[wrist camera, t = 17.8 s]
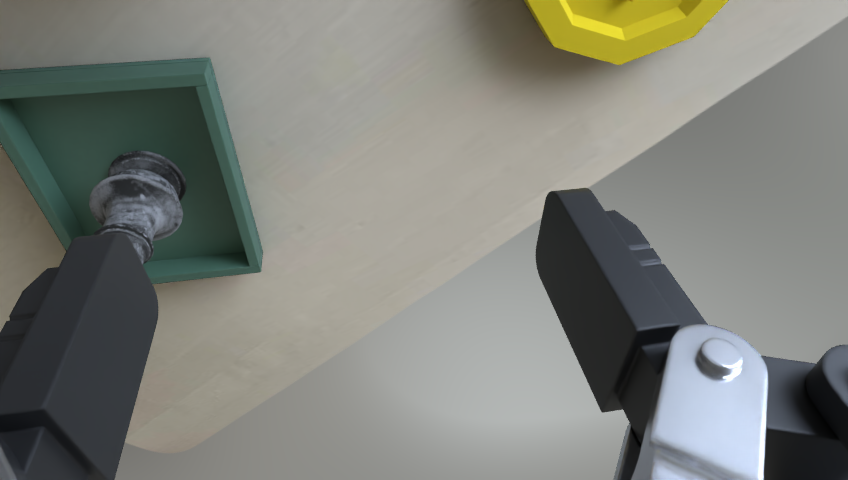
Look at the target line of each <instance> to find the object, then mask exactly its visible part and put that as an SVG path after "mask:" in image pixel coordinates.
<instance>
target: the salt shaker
mask: <svg viewBox="0 0 848 480" xmlns="http://www.w3.org/2000/svg"><path fill="white" fill-rule="evenodd" d="M185 191H186V179H185V177H184V175H183V173H182V171H181V170H180V169H179V167H178V166H177V165H176V164H175V163H173V162H172V161H171V160H169V159H168V158H166V157H164V156H162V155H160V154H157V153H153V152H149V151H131V152H126V153H124V154H122V155H120V156H118V157H117V158H116V159H115V160H114V161H113V162H112V163H111V165H110V167H109V170H108V178H106V179H104V180H102V181H100V182H99V183H98V184H97V185H96V186H95V187H94V188H93V190H92V192H91V194H90V199H89V206H90V209H91V212H92V214H93V216H94V217H95V219H96V220H97V222H98V223H100V224H101V225H102V226H103V227H101V228H99V229H98V230H97V231H95V232H94V234H93V235H101V234H111V233H124V234H126V235H127V236H128V237H129V239H130V240H131V242H132V244H133V246H134V248H135V250H136V252H137V254H138V256H139V258H140V261H141V263H142V265H143V264H144V263H146V262H147V261H149V260H150V259H151V257H152V256H153V253H154V247H153V243H152V241H156V240H161V239H163V238H166V237H168V236H170V235H171V234H173V233H174V232H175V231H176V230H177V229H178V227H179V226H180V224H181V222H182V217H183V211H182V206H181V204H180V202H179V201H181V199H182V198H183V196H184V195H185Z"/></svg>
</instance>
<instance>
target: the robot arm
mask: <svg viewBox="0 0 848 480" xmlns="http://www.w3.org/2000/svg"><path fill="white" fill-rule="evenodd" d="M536 263H537V269H538V273H539V276H540V279H541V281H542V283H543V285H544V287H545V289H546V291H547V294H548V296H549V298H550V300H551V303H552V305H553V307H554V309H555V311H556V313H557V316H558V318H559V320H560V322H561V324H562V327H563V329H564V331H565V333H566V335H567V338H568V339H569V342H570V344H571V346H572V348H573V351H574V353H575V355H576V357H577V359H578V361H579V364H580V366H581V368H582V370H583V372H584V375H585V377H586V379H587V381H588V383H589V385H590V388H591V390H592V392H593V394H594V396H595V399H596V401H597V403H598V405H599V407H600V410H601V411H602V412H609V411H615V410H621V409H623V410H624V412H625V414H626V416H627V418H628V420H629V422H630V423H629V425H628V427H627V430H626V433H625V436H624V440H623V444H622V448H621V452H620V456H619V460H618V463H617V467H616V471H615V475H614V479H613V480H848V345H839V346H835V347H833V348H831V349H829V350H828V351H827V352H826V353H825V354H824V355H823V356H822V358H821V359H820V360H819V361H818V362H817V364H814V363H807V362H800V361H793V360H786V359H780V358H773V357H766V356H761V355H760V354H759V353H758V352H757V350H756V349H755V348H754V347H753V346H752V345H751V344H749V343H748V342H747V341H746V340H744V339H743V338H741V337H740V336H738V335H736V334H735V333H733V332H731V331H728V330H726V329H723V328H720V327H717V326H712V325H708V324H707V323H706V321H705V320H704V319H703V317H702V316H701V315H700V313H699V312H698V310H697V309H696V308H695V307H694V305H693V303H692V302H691V301H690V299H689V298H688V297H687V295H686V294H685V292H684V291H683V290H682V288H681V287H680V285H679V284H678V283H677V282H676V280H675V279H674V277H673V276H672V274H671V273H670V272H669V270H668V269H667V267H666V266H665V265H664V264H661V259H660V258H659V256H658V255H657V254H656V252H655V251H654V249H653V248H650V244H649V242H648V241H647V240H646V238H645V237H644V236H643V234H642V233H641V231H640V230H639V229H638V227H637V226H636V225H635V224H633V223H632V222H631V221H629V220H628V219H626V218H625V217H624V216H622V215H621V214H619V213H618V212H616V211H615V210H612V211H604V209H603V208H602V206H601V205H600V203H599V202H598V200H597V199H596V197H595V196H594V194H593V193H592V191H591V190H589V189H588V188H580V189H570V190H560V191H551V192H549V193H548V195H547V197H546V200H545V205H544V210H543V215H542V220H541V225H540V230H539V235H538V241H537V246H536ZM9 317H10V321H6V323H5V325H4V327H3V329H2V330H1V332H0V480H114V479H115V475H116V471H117V468H118V464H119V460H120V457H121V453H122V449H123V445H124V442H125V438H126V435H127V431H128V427H129V424H130V420H131V416H132V413H133V409H134V405H135V402H136V398H137V394H138V391H139V387H140V383H141V380H142V376H143V372H144V368H145V365H146V361H147V357H148V354H149V350H150V346H151V343H152V339H153V335H154V332H155V328H156V324H157V320H158V300H157V295H156V292H155V289H154V287H153V285H152V283H151V281H150V279H149V277H148V275H147V273H146V271H145V269H144V267H143V265H142V263H141V261H140V258H139V256H138V254H137V252H136V250H135V248H134V246H133V244H132V242H131V240H130V239H129V237H128V236H127V235H126V234H124V233H111V234H101V235H91V236H81V237H76V238H74V239H73V241H72V242H71V244H70V246H69V248H68V250H67V252H66V254H65V256H64V258H63V260H62V262H61V264H60V266H59V267H56V268H47V269H46V270H45V271H44V272H43V273H42V274H41V275H40V276H39V277H38V278H36V279H35V280H34V281H33V282H32V283H31V284H30V285H29V286H28V287H27V288H26V289H25V290H24V291H23V292H22V294H21V296H20V297H19V299H18V301H17V303H16V305H15V307H14V308H13V310H12V312H11V314H10V316H9Z"/></svg>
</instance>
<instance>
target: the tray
mask: <svg viewBox="0 0 848 480" xmlns="http://www.w3.org/2000/svg"><path fill="white" fill-rule="evenodd" d="M0 143H1V145H2V146H3V148H4V150H5V151H6V153H7V155H8V156H9V158H10V159H11V161H12V163H13V164H14V166H15V168H16V169H17V171H18V173H19V174H20V176H21V178H22V179H23V181H24V182H25V184H26V186H27V187H28V189H29V191H30V192H31V194H32V196H33V197H34V199H35V200H36V202H37V204H38V205H39V207H40V209H41V210H42V212H43V214H44V215H45V217H46V219H47V220H48V222H49V223H50V225H51V227H52V228H53V230H54V232H55V233H56V235H57V237H58V238H59V240H60V241H61V243H62V245H63V246H64V248H65V250H66V251H67V250H68V248H69V246H70V244H71V242H72V241H73V239H74V238H76V237H81V236H91V235H93V234H94V232H95V231H97V230H98V229H99V228H101V227H103V226H102V225H101V224H100V223H98V222H97V220H96V219H95V217H94V216H93V214H92V212H91V209H90V206H89V199H90V194H91V192H92V190H93V188H94V187H95V186H96V185H97V184H98V183H99V182H100V181H102V180H104V179H106V178H108V170H109V167H110V165H111V163H112V162H113V161H114V160H115V159H116V158H117V157H118V156H120V155H122V154H124V153H126V152H131V151H149V152H153V153H157V154H160V155H162V156H164V157H166V158H168V159H169V160H171V161H172V162H173V163H175V164H176V165H177V166H178V167H179V169H180V170H181V171H182V173H183V175H184V177H185V179H186V191H185V195H184V196H183V198H182V199H181V201H179V202H180V204H181V206H182V211H183V217H182V222H181V224H180V226H179V227H178V229H177V230H176V231H175V232H174V233H173V234H171V235H170V236H168V237H166V238H163V239H161V240H156V241H152V243H153V247H154V253H153V256H152V257H151V259H150V260H149V261H147V262H146V263H144V264H143V267H144V269H145V271H146V273H147V275H148V277H149V279H150V281H151V283H152V284H158V283H167V282H176V281H185V280H194V279H203V278H212V277H221V276H230V275H239V274H248V273H257V272H261V267H262V255H263V250H262V247H261V243H260V239H259V236H258V232H257V228H256V225H255V221H254V217H253V214H252V210H251V206H250V203H249V199H248V195H247V192H246V188H245V184H244V181H243V177H242V173H241V170H240V166H239V162H238V159H237V155H236V151H235V148H234V144H233V140H232V137H231V133H230V129H229V126H228V122H227V118H226V115H225V111H224V107H223V104H222V100H221V96H220V93H219V89H218V85H217V82H216V78H215V74H214V71H213V67H212V63H211V60H210V58H194V59H177V60H161V61H145V62H128V63H112V64H95V65H79V66H62V67H46V68H30V69H13V70H0Z"/></svg>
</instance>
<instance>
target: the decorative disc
mask: <svg viewBox="0 0 848 480" xmlns="http://www.w3.org/2000/svg"><path fill="white" fill-rule="evenodd" d="M728 1H729V0H524V2H525V3H526V5H527V7H528V8H529V10H530V12H531V14H532V15H533V17H534V19H535V20H536V22H537V24H538V26H539V27H540V29H541V31H542V32H543V34H544V36H545V37H546V38H547V39H548V41H549V42H550V43H551V44H552V45H553V46H554V47H555V48H559V49H563V50H566V51H570V52H574V53H577V54H581V55H584V56H588V57H592V58H595V59H599V60H603V61H606V62H610V63H614V64H617V65H621V64H624V63H626V62H629V61H632V60H634V59H637V58H640V57H642V56H645V55H647V54H650V53H653V52H655V51H658V50H661V49H663V48H666V47H668V46H671V45H674V44H676V43H679V42H681V41H684V40H687V39H689V38H692V37H694V36H695V35H696V34H697V33H698V32H699V31H700V30H701V29H702V28H703V27H704V26H705V25H706V24H707V22H708V21H709V20H710V19H711V18H712V17H713V16H714V15H715V14H716V13H717V12H718V11H719V10H720V9H721V8H722V7H723V6H724V5H725V4H726V3H727V2H728Z"/></svg>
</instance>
